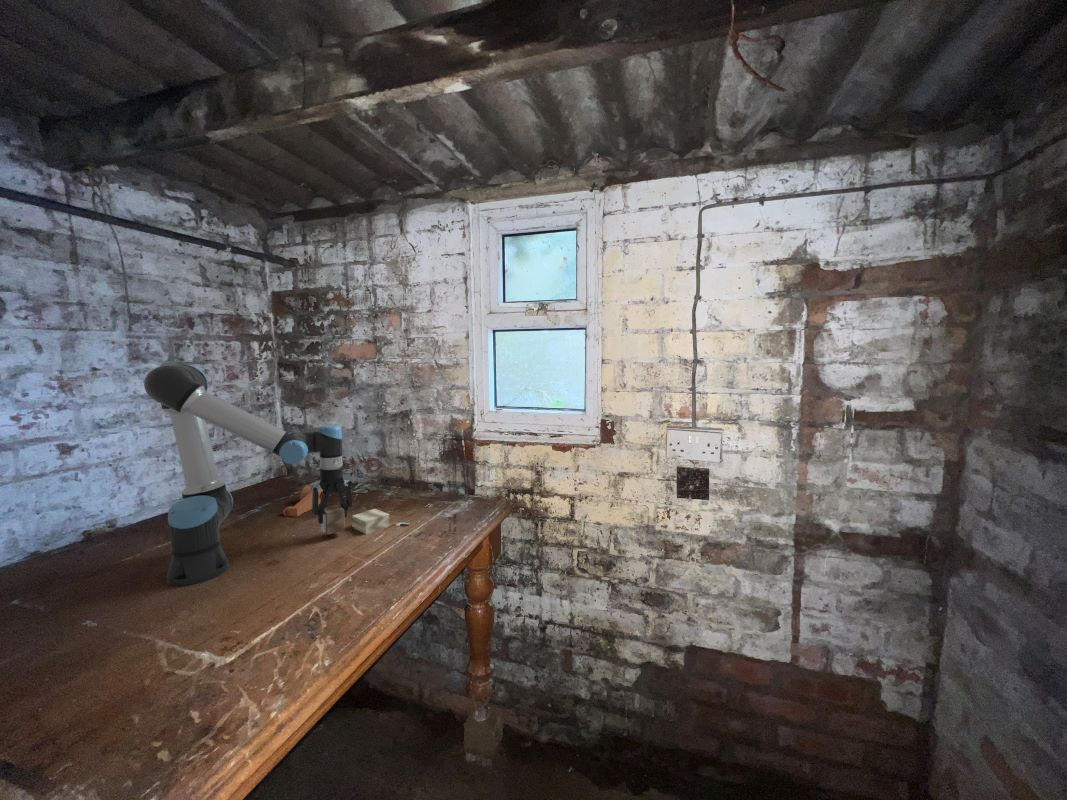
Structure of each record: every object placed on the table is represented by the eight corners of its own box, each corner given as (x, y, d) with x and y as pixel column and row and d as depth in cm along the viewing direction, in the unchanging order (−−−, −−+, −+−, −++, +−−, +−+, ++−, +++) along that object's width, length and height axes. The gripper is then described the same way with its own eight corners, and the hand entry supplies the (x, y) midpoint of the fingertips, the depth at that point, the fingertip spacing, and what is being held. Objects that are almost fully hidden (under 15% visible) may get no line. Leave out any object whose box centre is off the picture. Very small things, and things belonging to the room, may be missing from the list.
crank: (312, 500, 198) (311, 484, 197) (328, 501, 197) (327, 484, 196) (280, 516, 178) (279, 498, 178) (297, 517, 177) (296, 499, 176)
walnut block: (327, 534, 154) (327, 512, 153) (321, 529, 158) (321, 508, 158) (344, 530, 158) (344, 509, 158) (338, 525, 162) (337, 505, 162)
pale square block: (366, 534, 160) (365, 521, 160) (352, 528, 166) (351, 515, 166) (389, 526, 168) (389, 514, 167) (375, 520, 174) (375, 508, 174)
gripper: (306, 474, 147) (308, 539, 149) (361, 465, 160) (362, 525, 162) (299, 469, 152) (301, 532, 154) (353, 461, 165) (354, 519, 168)
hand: (333, 528), depth 158 cm, fingers closed on walnut block, 6 cm apart
